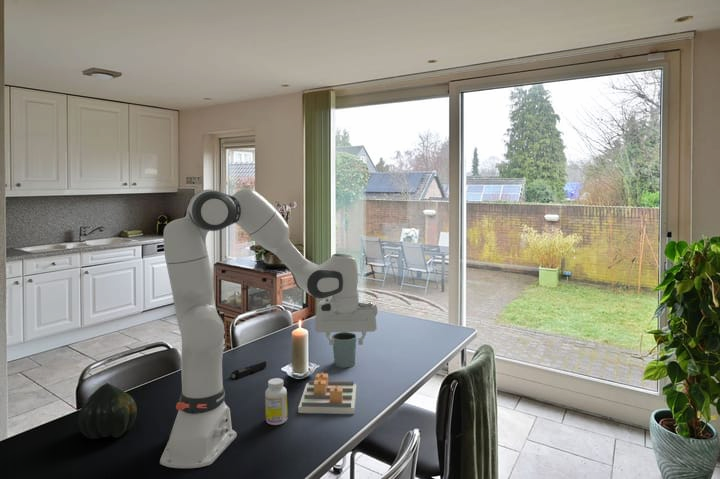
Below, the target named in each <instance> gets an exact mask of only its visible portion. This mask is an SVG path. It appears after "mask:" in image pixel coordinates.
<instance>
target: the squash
mask: <svg viewBox="0 0 720 479" xmlns="http://www.w3.org/2000/svg"><path fill="white" fill-rule="evenodd" d="M81 406H82V407H81V408H80V409H79V413H78V417H77V418H78V419H77V424H78V427H79V430H80V432H81V433H82V435H83V436H84V437H86V438H87V439H91V440H92V439H96V440H99V439H102V438H107V437H110V436H111V437H113V438H120V437H122V436H123V435H124V433H125V432H127V431H128V430H130V429H131V428H132V427H133V426H134V424H135V421H136V419H137V413H138V408H137V403H136V400H135V399H134V398H133V397H132V396H131V395H130V394H129V393H127V392H126V391H124V390H122V389H121V388H119V387H116V386H115V385H113V384H111V383H109V382H105V384H103V385H101V386H100V387H99V388H97V389H96V390H95V391H94V392H93V393H92V394H91V395H89V397H87V399H86V401H84V403H83V404H82V405H81Z"/></svg>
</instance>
